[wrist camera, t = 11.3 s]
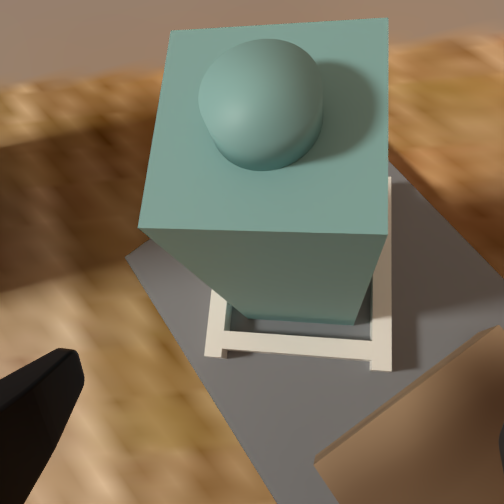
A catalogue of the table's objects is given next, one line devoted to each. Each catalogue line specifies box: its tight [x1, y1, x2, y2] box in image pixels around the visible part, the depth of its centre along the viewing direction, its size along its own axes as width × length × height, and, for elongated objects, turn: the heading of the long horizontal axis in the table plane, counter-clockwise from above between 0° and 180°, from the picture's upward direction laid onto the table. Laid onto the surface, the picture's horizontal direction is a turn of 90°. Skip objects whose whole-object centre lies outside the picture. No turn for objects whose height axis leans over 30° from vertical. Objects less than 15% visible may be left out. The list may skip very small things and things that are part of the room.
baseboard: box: [125, 161, 504, 504], centre depth 20 cm, size 20×14×2 cm
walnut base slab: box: [313, 325, 504, 504], centre depth 17 cm, size 6×9×2 cm, turn 126°
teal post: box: [138, 18, 388, 326], centre depth 15 cm, size 5×5×14 cm
